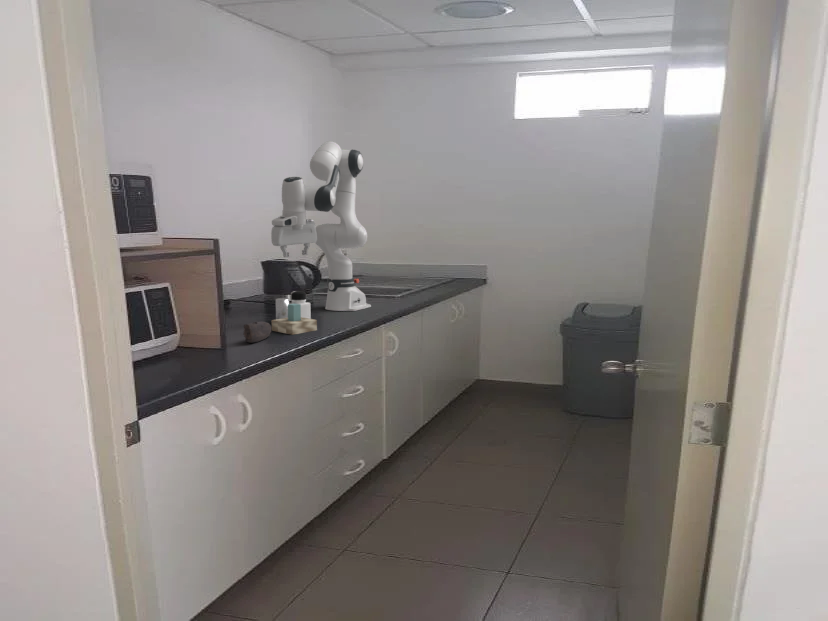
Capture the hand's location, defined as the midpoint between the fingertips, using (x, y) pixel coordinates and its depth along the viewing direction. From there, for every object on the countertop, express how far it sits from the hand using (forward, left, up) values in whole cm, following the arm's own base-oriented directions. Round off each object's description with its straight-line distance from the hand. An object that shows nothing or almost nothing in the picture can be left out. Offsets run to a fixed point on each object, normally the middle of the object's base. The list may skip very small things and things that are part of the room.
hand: (295, 256), depth 245 cm
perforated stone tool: (+27, +11, -28) cm, 41 cm away
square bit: (+7, +6, -28) cm, 29 cm away
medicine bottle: (-9, -10, -28) cm, 31 cm away
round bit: (+1, -8, -28) cm, 29 cm away
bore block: (+7, +6, -28) cm, 29 cm away
